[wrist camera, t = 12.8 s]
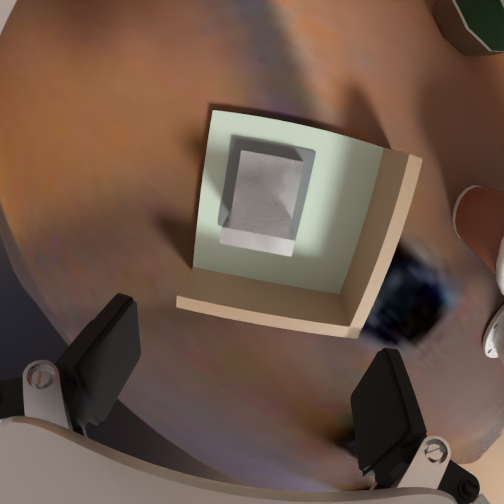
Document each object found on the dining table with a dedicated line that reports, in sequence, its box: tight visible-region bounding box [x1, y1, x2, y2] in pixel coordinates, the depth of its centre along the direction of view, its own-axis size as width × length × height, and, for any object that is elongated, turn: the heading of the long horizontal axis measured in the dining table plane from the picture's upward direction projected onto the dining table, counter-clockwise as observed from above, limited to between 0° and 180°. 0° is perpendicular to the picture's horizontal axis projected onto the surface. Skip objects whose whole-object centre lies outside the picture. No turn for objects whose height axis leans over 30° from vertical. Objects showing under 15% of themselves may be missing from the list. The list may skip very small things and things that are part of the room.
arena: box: [177, 110, 423, 339], centre depth 23 cm, size 16×16×6 cm
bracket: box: [219, 149, 304, 257], centre depth 21 cm, size 6×5×6 cm
